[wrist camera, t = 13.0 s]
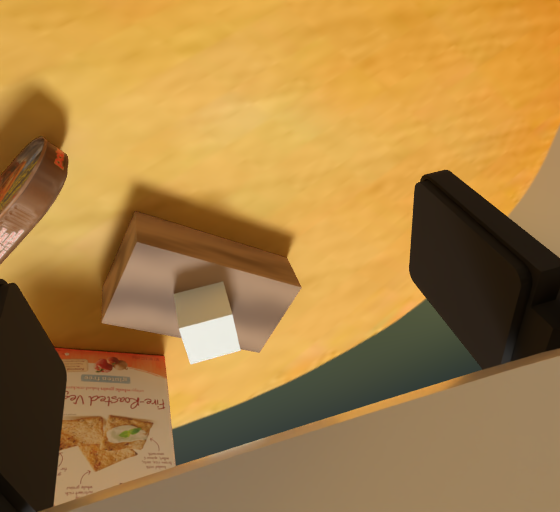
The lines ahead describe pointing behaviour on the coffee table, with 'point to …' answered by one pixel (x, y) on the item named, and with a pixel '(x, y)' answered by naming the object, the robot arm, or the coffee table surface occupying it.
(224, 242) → the walnut block
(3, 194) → the tin
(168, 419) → the cracker box
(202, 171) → the coffee table surface
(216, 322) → the white cube
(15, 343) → the robot arm
